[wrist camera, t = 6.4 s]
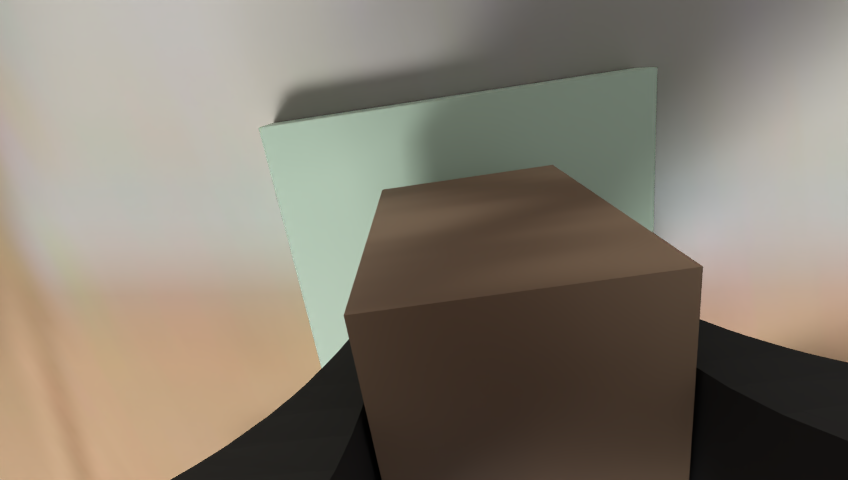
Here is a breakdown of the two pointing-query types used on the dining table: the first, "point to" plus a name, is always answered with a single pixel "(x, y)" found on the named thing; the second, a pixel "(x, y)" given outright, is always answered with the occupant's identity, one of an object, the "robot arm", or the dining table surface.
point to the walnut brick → (523, 334)
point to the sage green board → (449, 165)
